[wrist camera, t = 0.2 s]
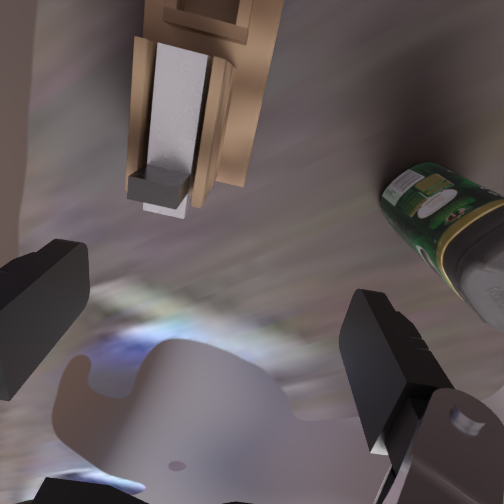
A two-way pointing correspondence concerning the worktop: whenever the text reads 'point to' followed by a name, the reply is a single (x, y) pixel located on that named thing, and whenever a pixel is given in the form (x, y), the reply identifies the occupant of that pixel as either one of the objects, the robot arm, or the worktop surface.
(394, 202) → the coffee jar
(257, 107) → the mount
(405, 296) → the worktop surface
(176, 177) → the grey angular block
